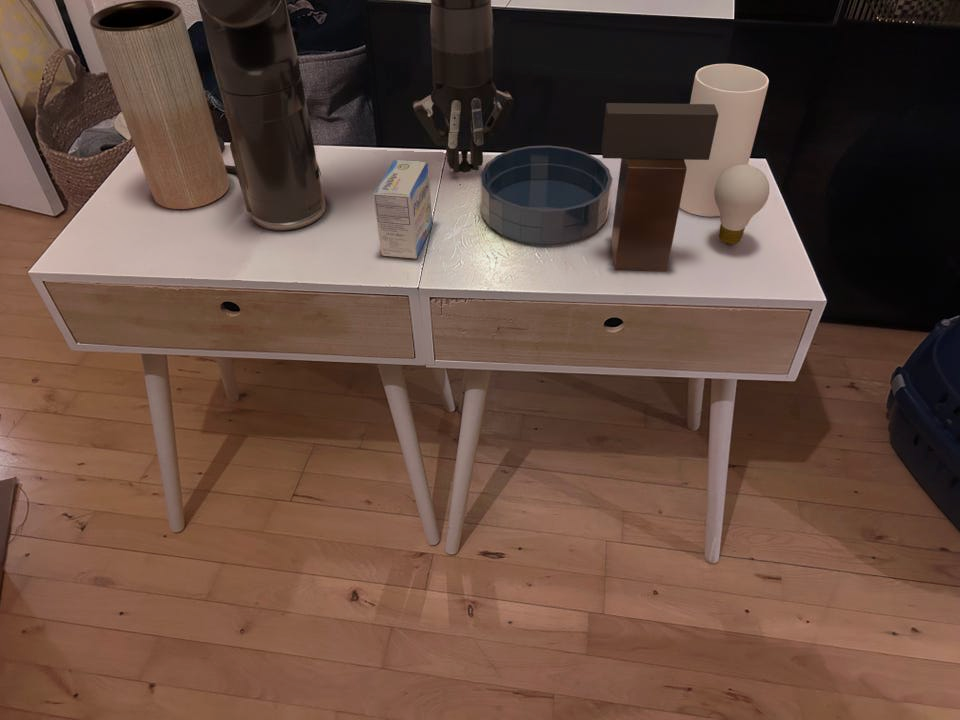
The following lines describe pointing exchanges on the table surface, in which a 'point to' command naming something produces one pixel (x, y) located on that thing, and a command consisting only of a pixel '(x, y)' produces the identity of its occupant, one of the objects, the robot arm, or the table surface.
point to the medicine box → (403, 208)
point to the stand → (646, 213)
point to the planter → (162, 101)
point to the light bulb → (739, 200)
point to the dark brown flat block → (658, 131)
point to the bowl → (545, 194)
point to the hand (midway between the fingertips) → (464, 168)
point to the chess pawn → (464, 162)
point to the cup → (723, 129)
